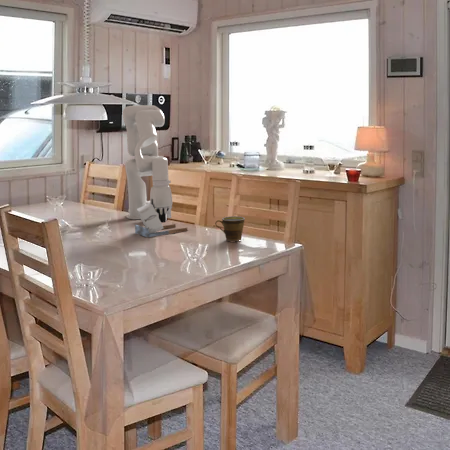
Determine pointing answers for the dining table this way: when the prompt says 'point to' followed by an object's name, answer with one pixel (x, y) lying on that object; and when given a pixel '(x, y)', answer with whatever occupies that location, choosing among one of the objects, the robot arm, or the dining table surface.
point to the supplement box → (150, 218)
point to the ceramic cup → (232, 227)
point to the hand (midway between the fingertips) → (162, 222)
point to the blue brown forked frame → (145, 232)
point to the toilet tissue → (168, 214)
